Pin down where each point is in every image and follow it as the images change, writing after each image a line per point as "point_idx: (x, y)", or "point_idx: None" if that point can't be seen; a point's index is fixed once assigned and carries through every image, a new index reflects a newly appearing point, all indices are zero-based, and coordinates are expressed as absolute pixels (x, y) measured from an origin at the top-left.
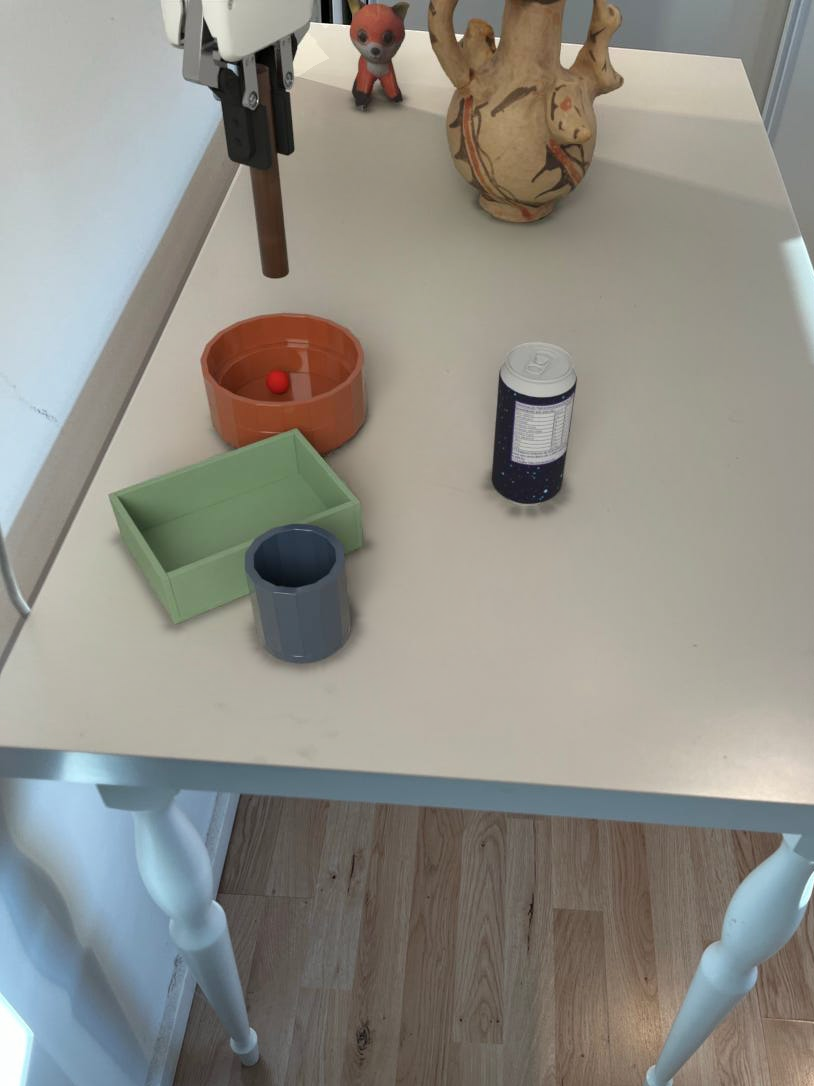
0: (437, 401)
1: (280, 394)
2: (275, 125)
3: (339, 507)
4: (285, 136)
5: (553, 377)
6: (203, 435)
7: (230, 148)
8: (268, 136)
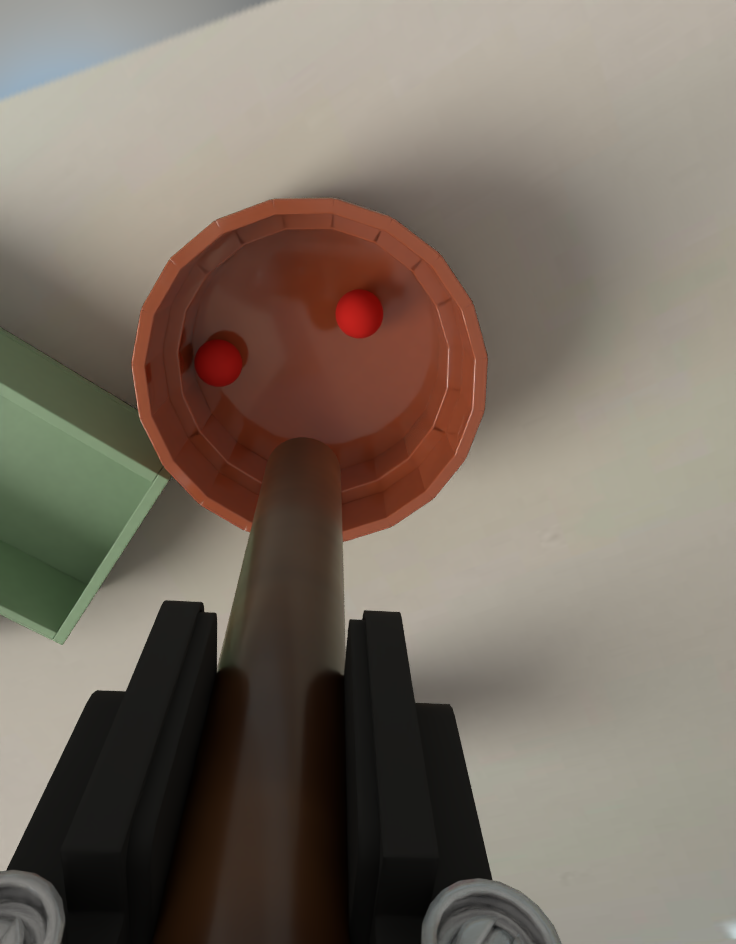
0: (464, 553)
1: None
2: None
3: (32, 625)
4: None
5: None
6: (192, 224)
7: (91, 695)
8: None
